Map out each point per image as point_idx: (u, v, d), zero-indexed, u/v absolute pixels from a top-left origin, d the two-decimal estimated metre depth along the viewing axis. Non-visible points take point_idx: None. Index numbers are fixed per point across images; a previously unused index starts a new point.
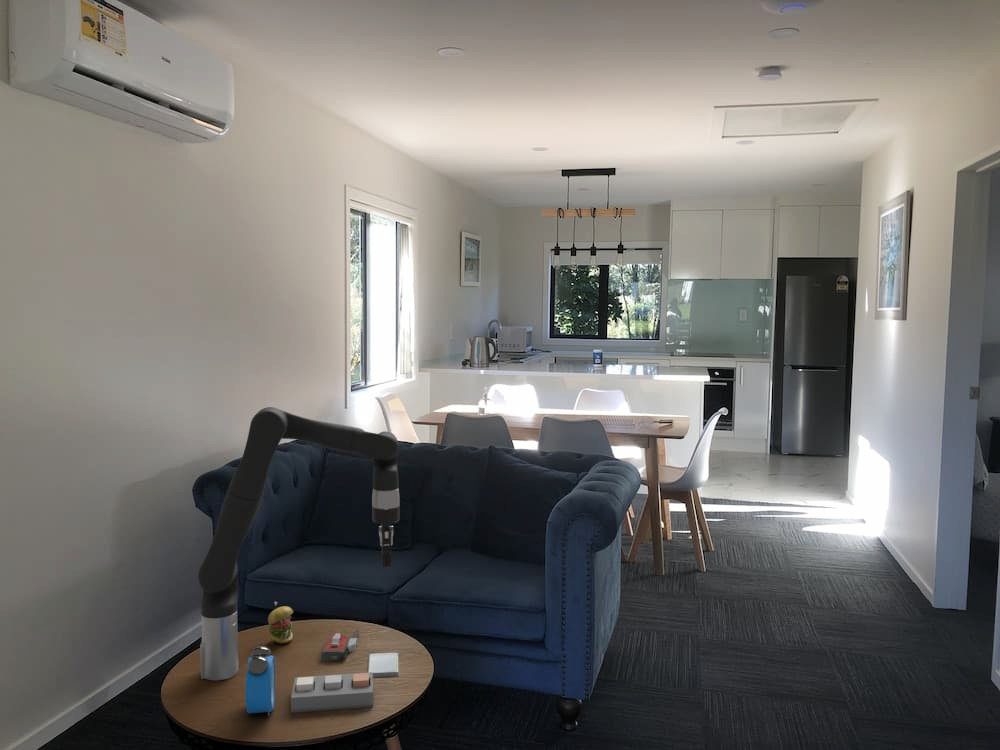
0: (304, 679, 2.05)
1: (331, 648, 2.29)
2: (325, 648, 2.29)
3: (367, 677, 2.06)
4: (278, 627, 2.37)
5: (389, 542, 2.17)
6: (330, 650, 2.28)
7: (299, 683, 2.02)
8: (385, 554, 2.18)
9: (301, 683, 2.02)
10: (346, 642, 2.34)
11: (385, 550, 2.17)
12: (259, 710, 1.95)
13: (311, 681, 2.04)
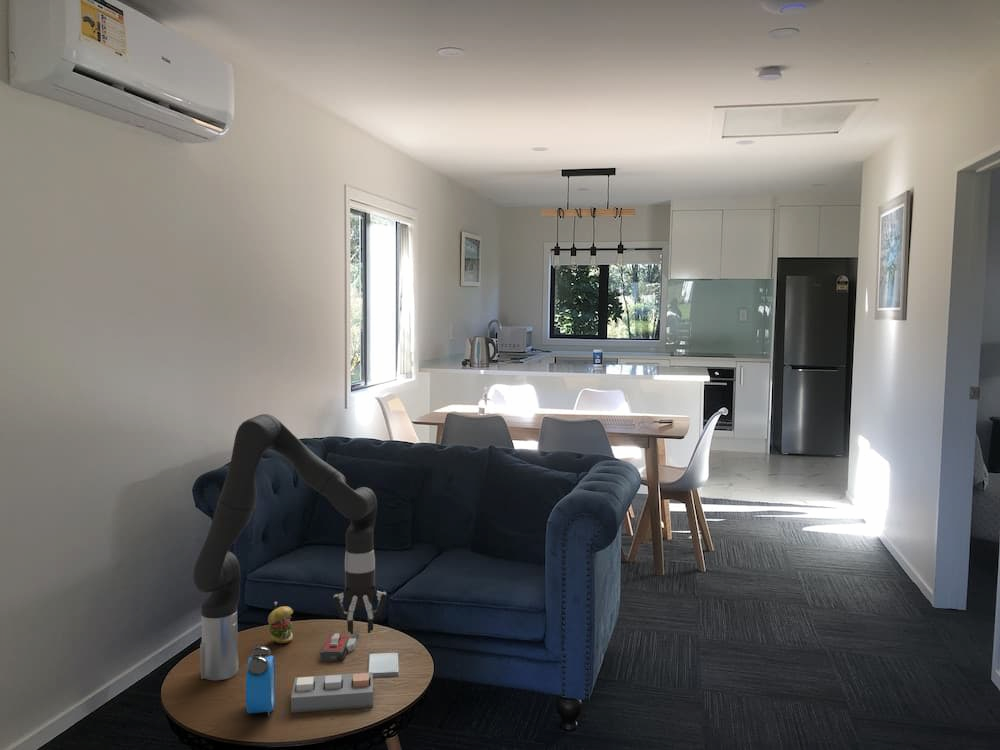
0: (304, 679, 2.05)
1: (330, 648, 2.29)
2: (324, 648, 2.29)
3: (367, 677, 2.06)
4: (278, 627, 2.37)
5: None
6: (329, 650, 2.28)
7: (299, 683, 2.02)
8: None
9: (301, 683, 2.02)
10: (345, 642, 2.34)
11: None
12: (259, 710, 1.95)
13: (311, 681, 2.04)
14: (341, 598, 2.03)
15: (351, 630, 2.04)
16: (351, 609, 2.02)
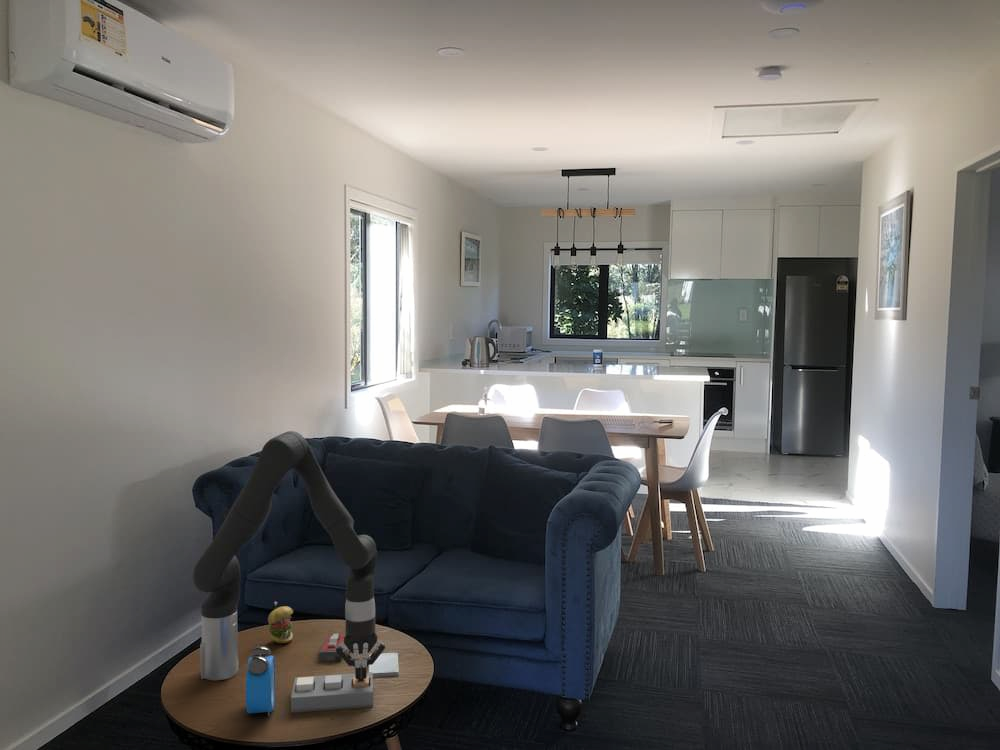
0: (304, 679, 2.05)
1: (328, 648, 2.29)
2: (322, 648, 2.29)
3: (367, 680, 2.06)
4: (278, 627, 2.37)
5: None
6: (327, 650, 2.28)
7: (299, 683, 2.02)
8: None
9: (301, 683, 2.02)
10: None
11: None
12: (259, 710, 1.95)
13: (311, 681, 2.04)
14: (343, 647, 2.04)
15: (359, 677, 2.05)
16: (356, 657, 2.04)
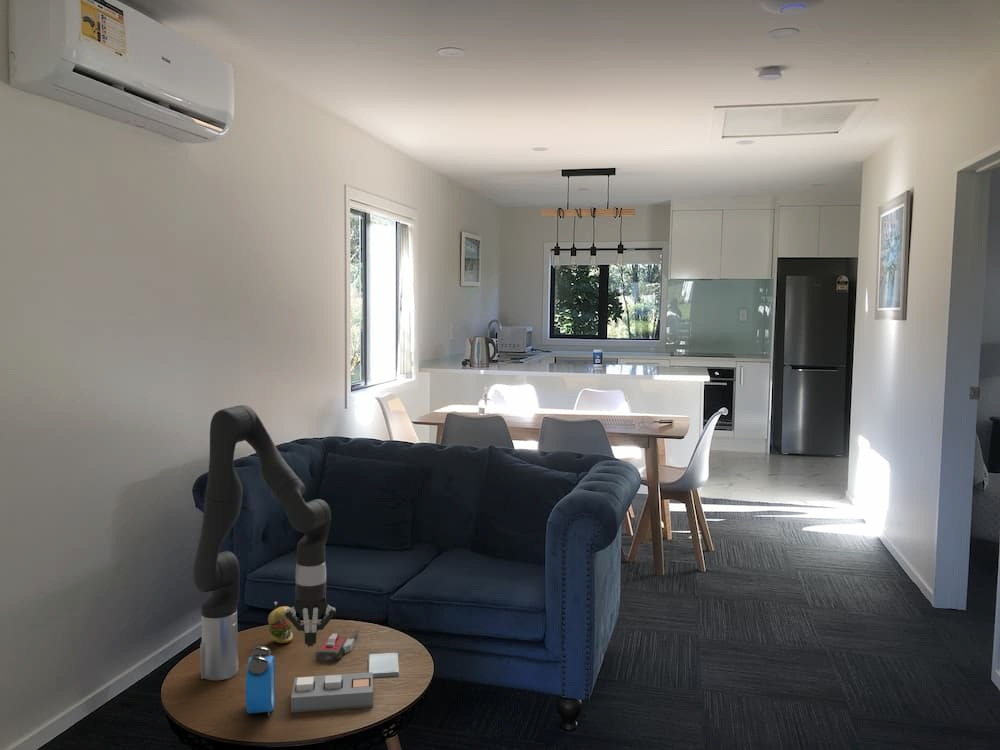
0: (304, 679, 2.05)
1: (326, 648, 2.29)
2: (320, 648, 2.29)
3: (367, 683, 2.06)
4: (278, 627, 2.37)
5: None
6: (324, 650, 2.28)
7: (299, 683, 2.02)
8: None
9: (301, 683, 2.02)
10: (342, 642, 2.33)
11: None
12: (259, 710, 1.95)
13: (311, 681, 2.04)
14: (293, 612, 2.02)
15: (308, 642, 2.03)
16: (305, 622, 2.02)
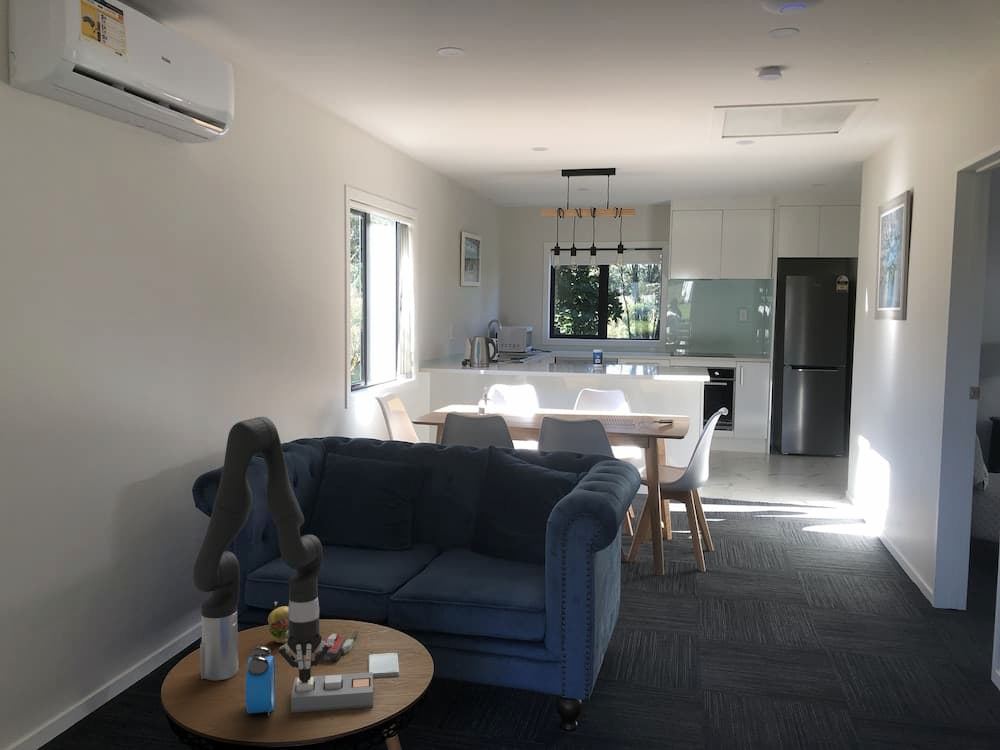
0: None
1: None
2: (319, 648, 2.29)
3: (367, 683, 2.06)
4: (278, 627, 2.37)
5: None
6: None
7: (299, 683, 2.02)
8: None
9: (301, 683, 2.03)
10: (341, 643, 2.33)
11: None
12: (259, 710, 1.95)
13: (311, 681, 2.04)
14: (287, 648, 2.02)
15: (302, 679, 2.03)
16: (299, 658, 2.01)
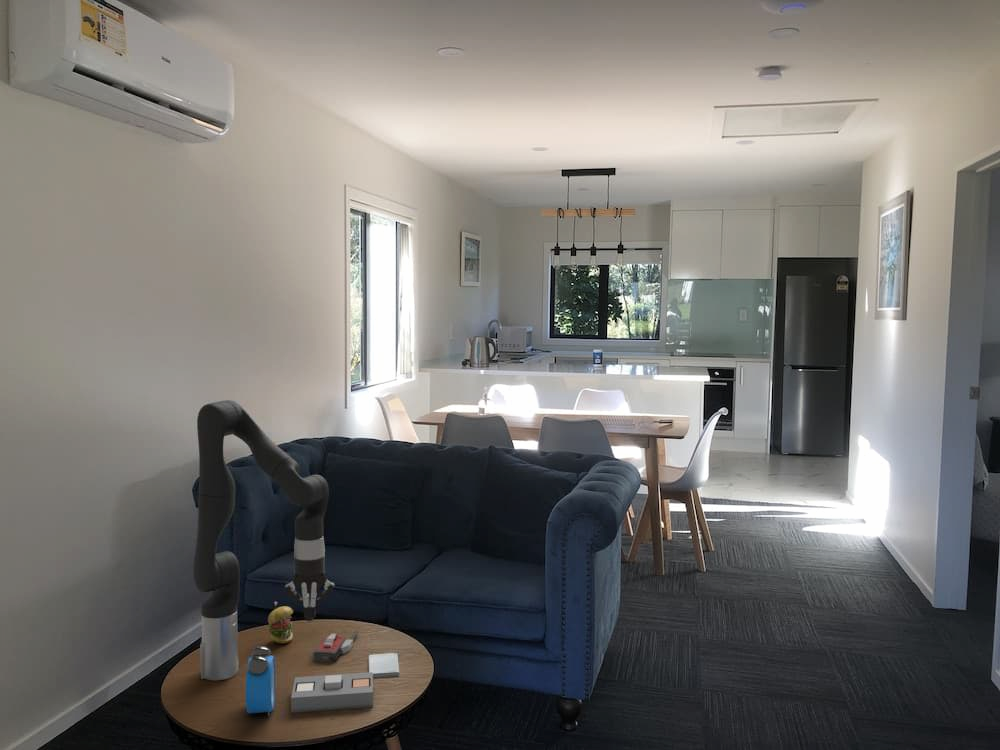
0: (304, 685, 2.05)
1: (323, 648, 2.29)
2: (318, 648, 2.29)
3: (367, 683, 2.06)
4: (278, 627, 2.37)
5: None
6: (322, 650, 2.28)
7: (299, 689, 2.03)
8: (315, 606, 2.05)
9: (301, 689, 2.03)
10: (340, 643, 2.33)
11: None
12: (259, 710, 1.95)
13: (311, 687, 2.04)
14: (292, 586, 2.04)
15: (307, 617, 2.04)
16: (304, 596, 2.03)
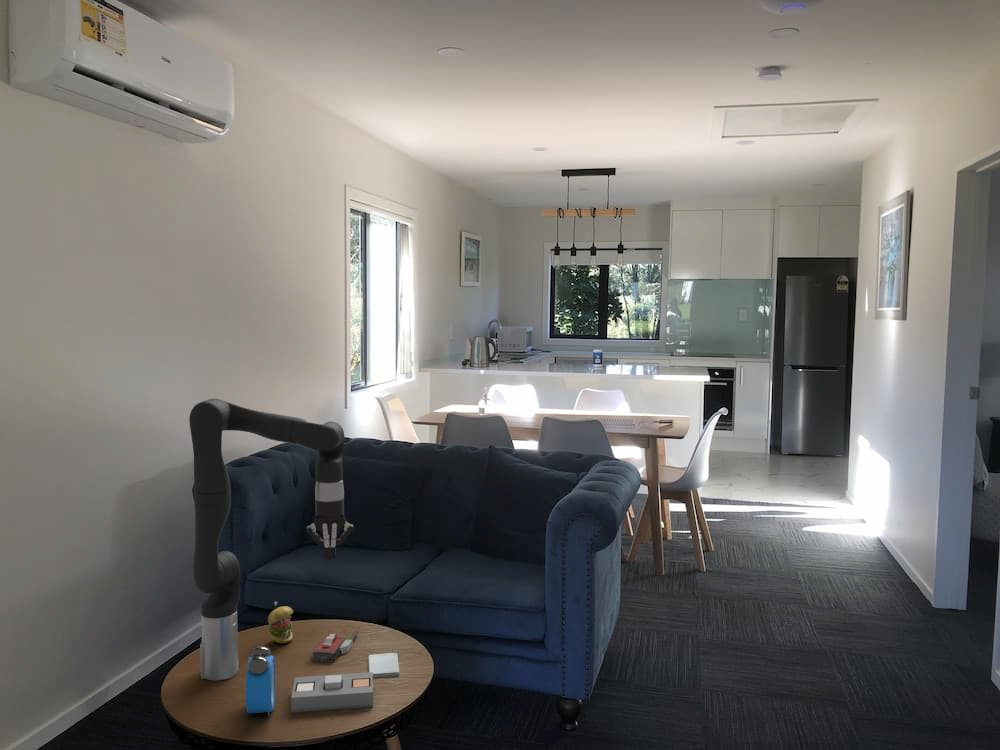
0: (304, 685, 2.05)
1: (322, 648, 2.29)
2: (317, 648, 2.29)
3: (367, 683, 2.06)
4: (278, 627, 2.37)
5: None
6: (320, 650, 2.28)
7: (299, 689, 2.03)
8: (335, 546, 2.16)
9: (301, 689, 2.03)
10: (339, 643, 2.33)
11: None
12: (259, 710, 1.95)
13: (311, 687, 2.04)
14: (313, 528, 2.14)
15: (328, 557, 2.15)
16: (325, 537, 2.14)
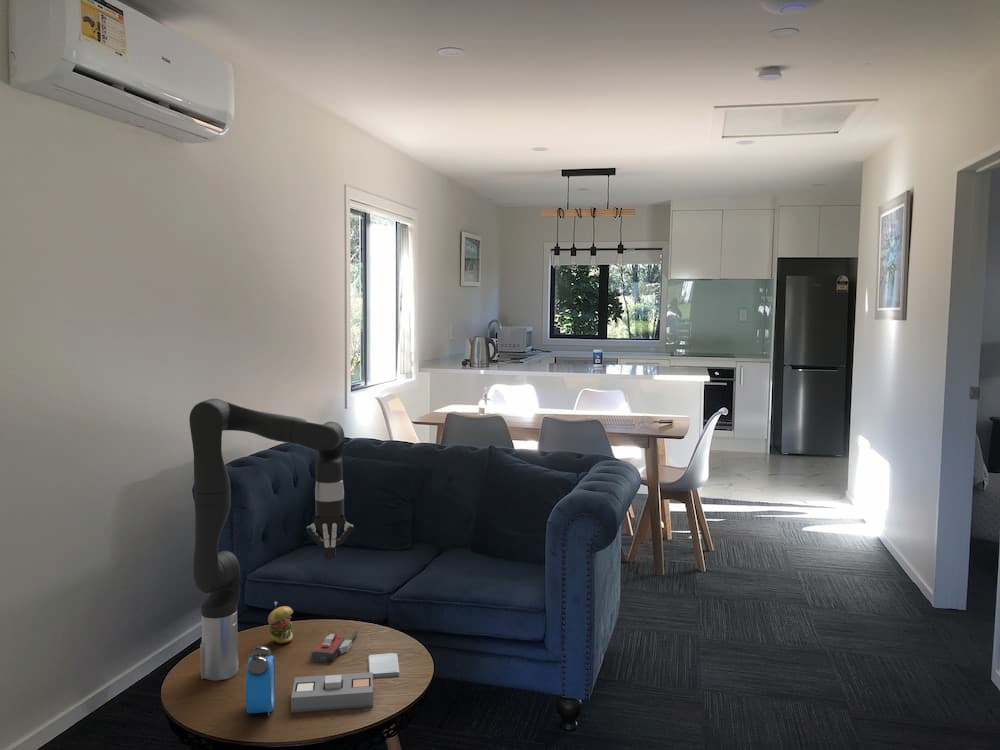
0: (304, 685, 2.05)
1: (321, 648, 2.29)
2: (316, 648, 2.29)
3: (367, 683, 2.06)
4: (278, 627, 2.37)
5: None
6: (319, 650, 2.28)
7: (299, 689, 2.03)
8: (335, 546, 2.16)
9: (301, 689, 2.03)
10: (339, 643, 2.33)
11: None
12: (259, 710, 1.95)
13: (311, 687, 2.04)
14: (313, 528, 2.14)
15: (328, 557, 2.15)
16: (325, 537, 2.14)
